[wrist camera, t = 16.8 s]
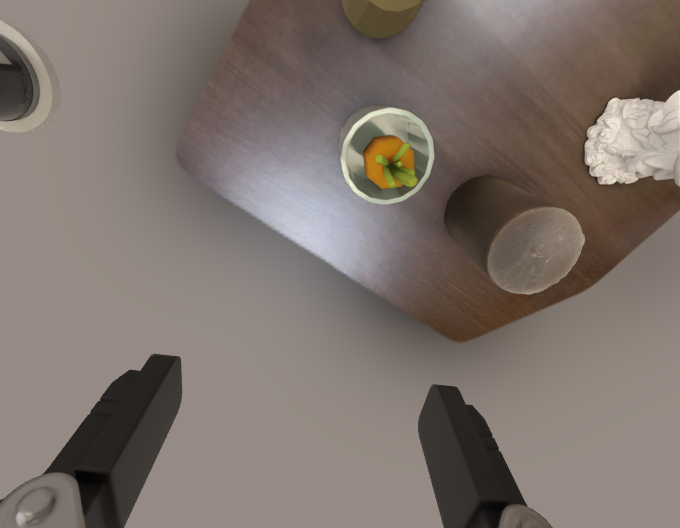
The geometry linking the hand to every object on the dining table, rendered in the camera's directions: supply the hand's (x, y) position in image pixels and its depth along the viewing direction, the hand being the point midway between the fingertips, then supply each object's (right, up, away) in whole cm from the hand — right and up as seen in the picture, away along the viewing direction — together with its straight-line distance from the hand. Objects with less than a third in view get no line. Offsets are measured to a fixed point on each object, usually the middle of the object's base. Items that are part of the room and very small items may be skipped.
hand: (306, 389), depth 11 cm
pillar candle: (+20, +11, +36) cm, 42 cm away
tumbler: (+5, +19, +31) cm, 37 cm away
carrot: (+5, +18, +31) cm, 36 cm away
